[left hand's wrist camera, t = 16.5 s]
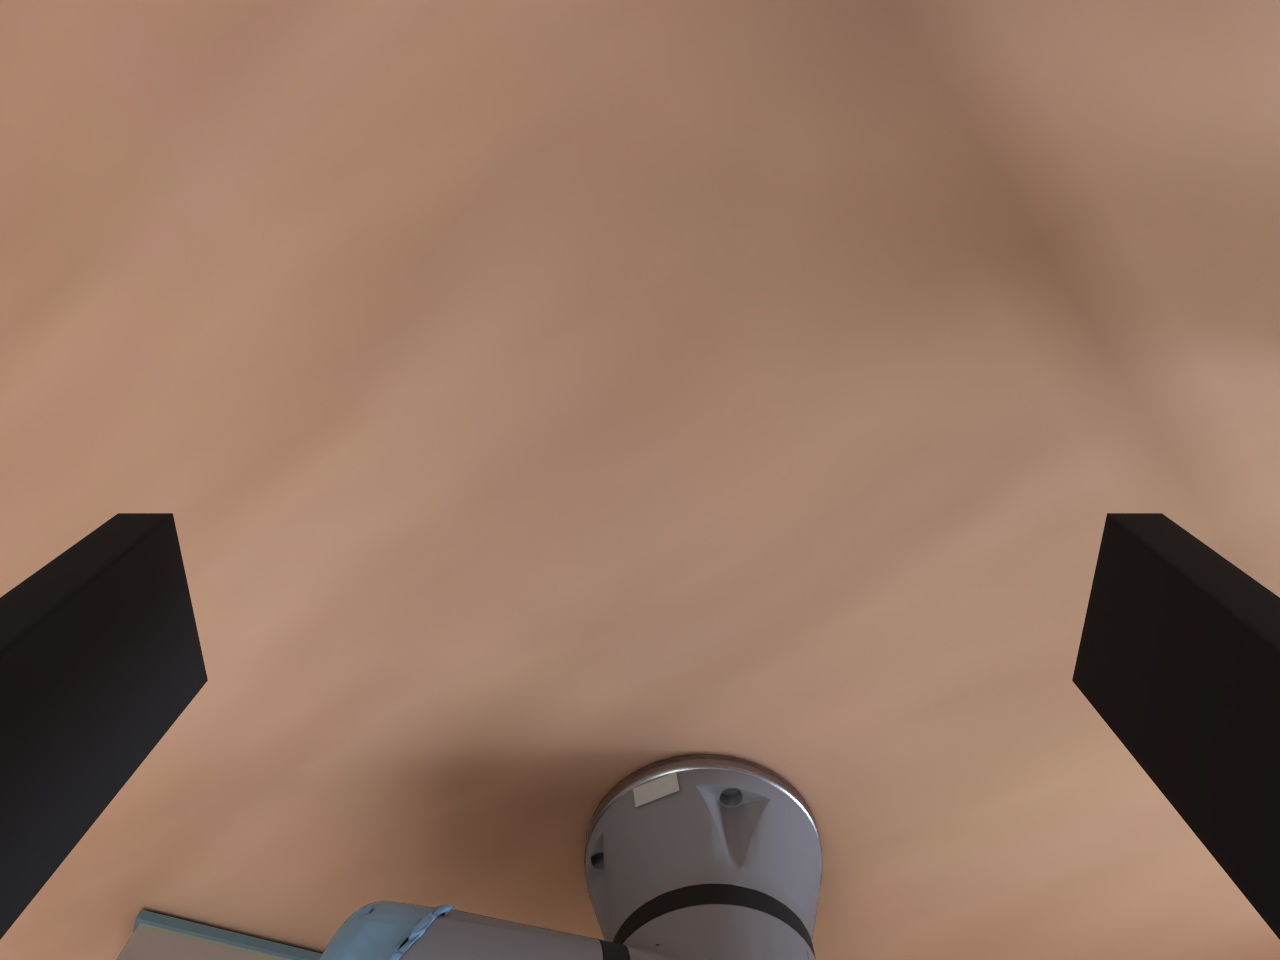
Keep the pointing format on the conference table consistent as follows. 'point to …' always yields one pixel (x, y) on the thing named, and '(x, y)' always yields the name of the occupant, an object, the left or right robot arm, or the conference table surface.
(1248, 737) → the left robot arm
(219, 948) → the book
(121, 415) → the conference table surface
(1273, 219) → the conference table surface
